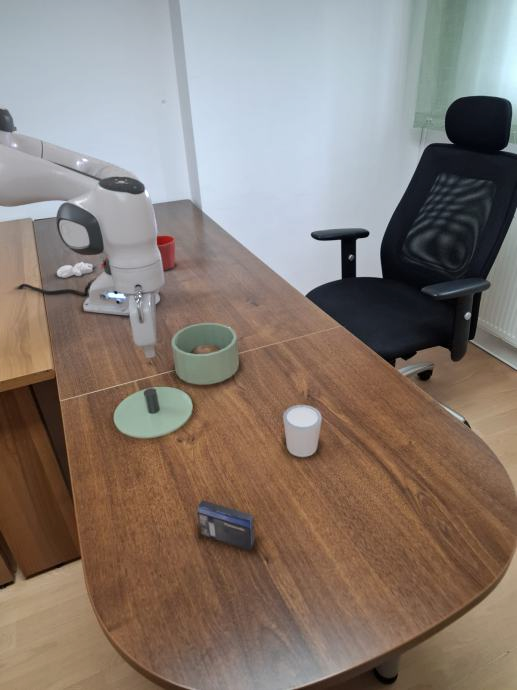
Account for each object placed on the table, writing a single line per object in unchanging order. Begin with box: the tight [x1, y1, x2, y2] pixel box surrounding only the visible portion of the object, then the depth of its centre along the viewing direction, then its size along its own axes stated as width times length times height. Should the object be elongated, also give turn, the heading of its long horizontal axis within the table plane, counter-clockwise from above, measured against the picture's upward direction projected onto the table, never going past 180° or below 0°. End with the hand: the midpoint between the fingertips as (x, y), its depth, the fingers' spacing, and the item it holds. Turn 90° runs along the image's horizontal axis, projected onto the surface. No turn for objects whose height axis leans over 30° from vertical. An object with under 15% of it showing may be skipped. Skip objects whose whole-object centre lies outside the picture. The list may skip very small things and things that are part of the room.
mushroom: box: [191, 345, 221, 354], centre depth 106 cm, size 8×8×6 cm
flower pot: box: [157, 235, 176, 271], centre depth 162 cm, size 11×11×10 cm
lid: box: [113, 386, 194, 439], centre depth 93 cm, size 16×16×6 cm
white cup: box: [282, 404, 323, 458], centre depth 83 cm, size 7×7×7 cm
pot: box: [170, 322, 240, 386], centre depth 106 cm, size 15×15×8 cm
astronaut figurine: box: [56, 261, 94, 279], centre depth 162 cm, size 9×12×3 cm
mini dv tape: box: [197, 499, 256, 551], centre depth 68 cm, size 8×2×6 cm, turn 69°
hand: (150, 342), depth 89 cm, fingers open, 8 cm apart
